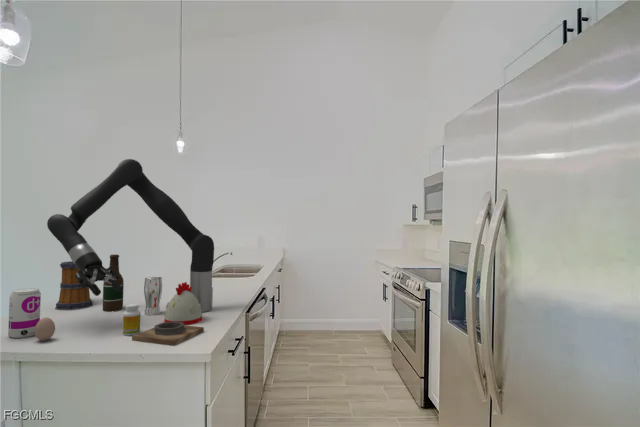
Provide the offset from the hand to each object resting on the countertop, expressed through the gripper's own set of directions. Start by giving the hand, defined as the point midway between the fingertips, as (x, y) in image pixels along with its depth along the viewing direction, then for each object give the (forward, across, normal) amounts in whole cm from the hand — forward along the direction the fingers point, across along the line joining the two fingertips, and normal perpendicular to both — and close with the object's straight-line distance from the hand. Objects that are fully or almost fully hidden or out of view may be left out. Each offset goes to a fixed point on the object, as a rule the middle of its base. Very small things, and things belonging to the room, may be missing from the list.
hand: (109, 292), depth 130 cm
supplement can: (-6, -13, +25) cm, 29 cm away
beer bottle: (-7, +25, +27) cm, 37 cm away
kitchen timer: (+21, +20, -2) cm, 29 cm away
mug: (-23, +26, +42) cm, 54 cm away
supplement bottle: (+17, 0, +2) cm, 17 cm away
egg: (+3, -15, +17) cm, 23 cm away
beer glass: (+8, +25, +12) cm, 29 cm away
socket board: (+27, +2, -8) cm, 28 cm away
